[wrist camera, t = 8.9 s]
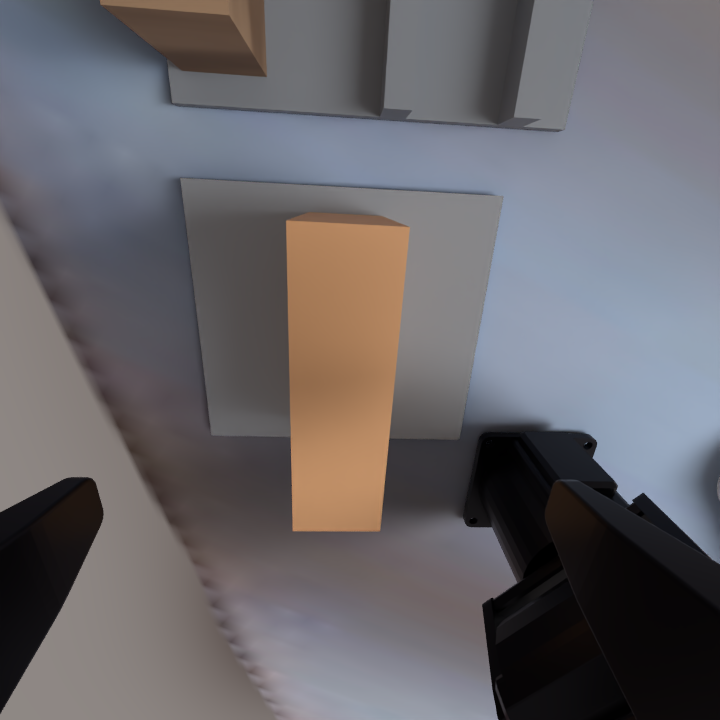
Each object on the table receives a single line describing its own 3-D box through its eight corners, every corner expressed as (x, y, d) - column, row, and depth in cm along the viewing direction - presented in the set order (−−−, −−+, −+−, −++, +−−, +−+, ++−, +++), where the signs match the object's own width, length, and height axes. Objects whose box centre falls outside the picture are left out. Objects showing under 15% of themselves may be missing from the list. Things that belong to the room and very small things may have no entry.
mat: (456, 433, 21) (459, 439, 20) (215, 429, 20) (211, 435, 19) (498, 196, 16) (503, 196, 16) (186, 178, 15) (180, 177, 15)
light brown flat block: (367, 422, 20) (379, 531, 13) (309, 421, 19) (292, 531, 13) (381, 216, 16) (409, 227, 9) (309, 212, 15) (286, 220, 9)
